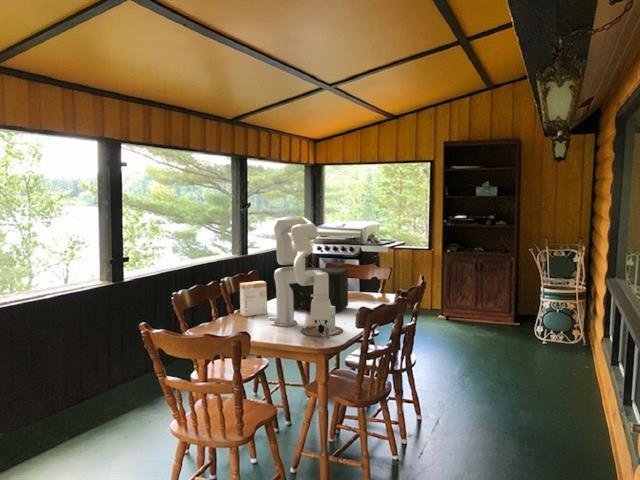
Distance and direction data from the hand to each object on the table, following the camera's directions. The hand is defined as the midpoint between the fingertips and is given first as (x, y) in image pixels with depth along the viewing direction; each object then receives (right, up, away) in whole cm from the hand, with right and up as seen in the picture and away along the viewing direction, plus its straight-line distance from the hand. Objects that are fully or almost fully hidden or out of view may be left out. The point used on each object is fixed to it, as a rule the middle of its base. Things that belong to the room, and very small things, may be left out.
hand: (321, 332), depth 272 cm
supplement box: (+3, -1, +16) cm, 16 cm away
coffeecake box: (-41, +1, +57) cm, 70 cm away
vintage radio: (-3, +3, +69) cm, 69 cm away
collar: (+1, -1, +10) cm, 11 cm away
